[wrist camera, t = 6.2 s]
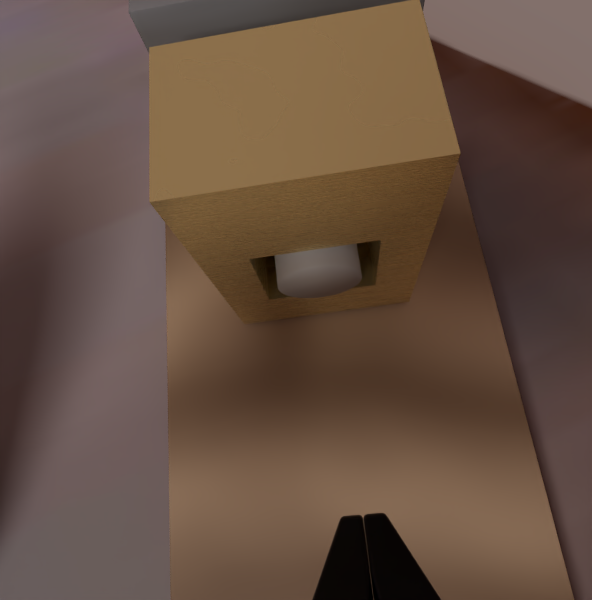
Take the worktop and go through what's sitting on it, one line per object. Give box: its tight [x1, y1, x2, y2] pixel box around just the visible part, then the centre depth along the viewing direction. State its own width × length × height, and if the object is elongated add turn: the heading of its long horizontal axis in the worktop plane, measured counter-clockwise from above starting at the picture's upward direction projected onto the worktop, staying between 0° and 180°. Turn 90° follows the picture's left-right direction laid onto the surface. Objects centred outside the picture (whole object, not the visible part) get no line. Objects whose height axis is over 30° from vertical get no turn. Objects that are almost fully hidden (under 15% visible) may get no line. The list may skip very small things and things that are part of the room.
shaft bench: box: [129, 0, 574, 600], centre depth 13 cm, size 22×12×10 cm, turn 6°
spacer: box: [149, 0, 461, 324], centre depth 14 cm, size 4×6×9 cm, turn 96°
